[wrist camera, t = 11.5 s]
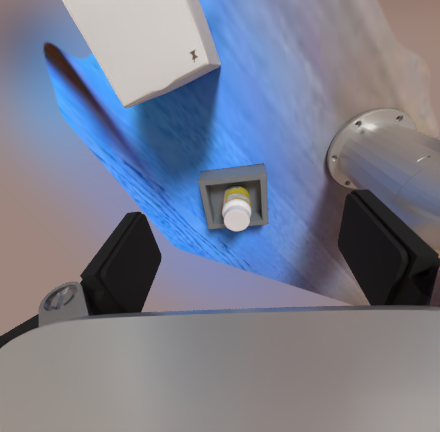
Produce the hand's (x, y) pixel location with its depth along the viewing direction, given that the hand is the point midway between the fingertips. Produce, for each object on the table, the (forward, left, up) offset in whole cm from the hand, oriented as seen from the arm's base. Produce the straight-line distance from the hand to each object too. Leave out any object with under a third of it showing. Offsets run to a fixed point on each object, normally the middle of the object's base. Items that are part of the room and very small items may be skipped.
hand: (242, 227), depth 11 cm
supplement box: (+7, -10, -29) cm, 31 cm away
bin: (+2, +13, -28) cm, 31 cm away
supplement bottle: (+2, +13, -28) cm, 30 cm away
